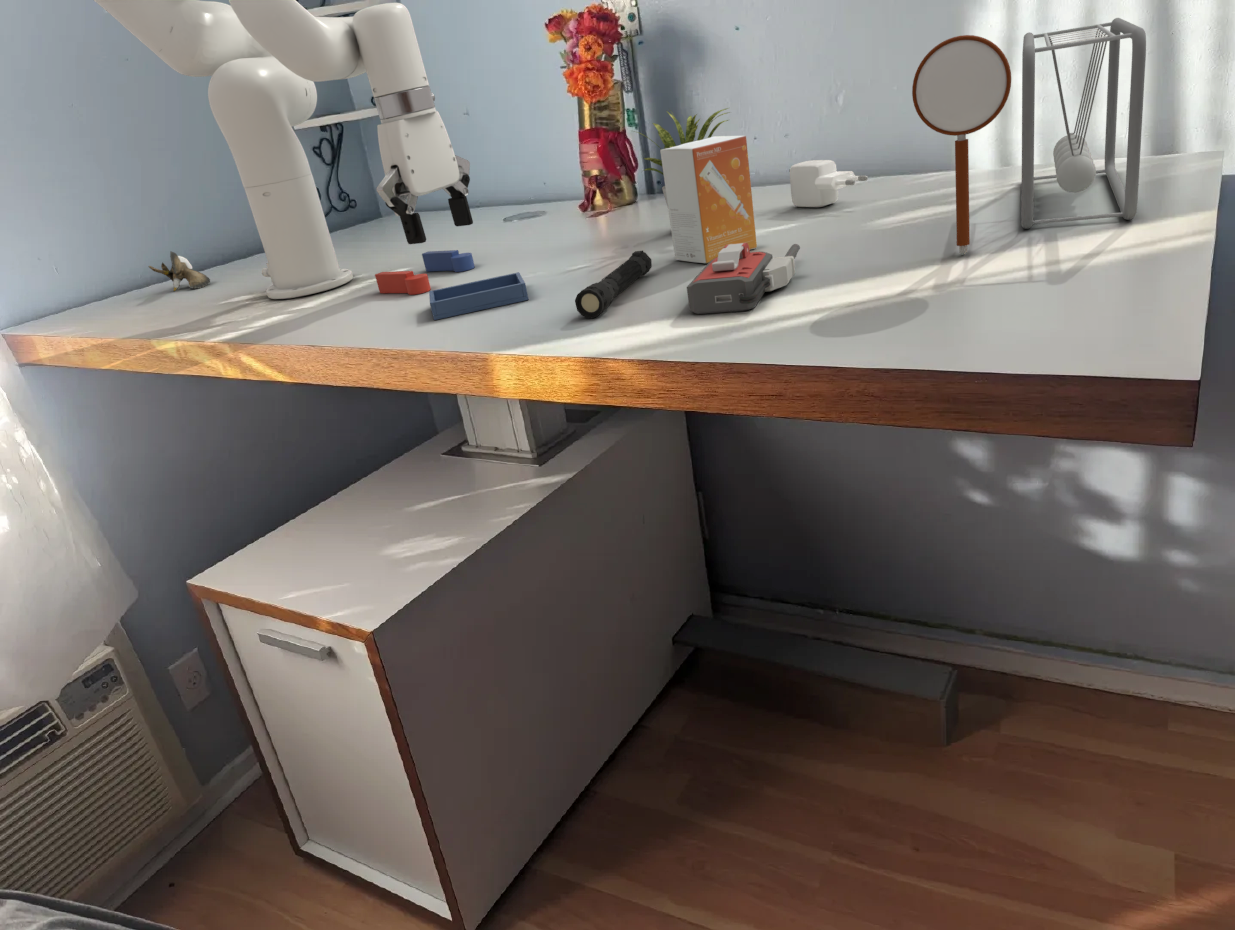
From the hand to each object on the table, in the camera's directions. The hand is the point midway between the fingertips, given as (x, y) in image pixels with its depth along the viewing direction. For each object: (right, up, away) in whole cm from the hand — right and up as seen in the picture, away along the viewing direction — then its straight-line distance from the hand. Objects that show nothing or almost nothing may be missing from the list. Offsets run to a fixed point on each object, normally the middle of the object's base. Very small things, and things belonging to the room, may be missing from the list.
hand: (441, 233), depth 130 cm
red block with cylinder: (-3, -10, -8) cm, 13 cm away
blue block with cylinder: (+1, -5, +1) cm, 5 cm away
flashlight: (+25, -14, -30) cm, 41 cm away
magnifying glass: (+59, -12, -38) cm, 72 cm away
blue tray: (+9, -14, -22) cm, 27 cm away
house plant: (+37, 0, -2) cm, 37 cm away
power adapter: (+54, +3, -3) cm, 54 cm away
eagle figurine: (-49, -2, +28) cm, 57 cm away
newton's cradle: (+77, -2, -25) cm, 81 cm away
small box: (+37, -7, -19) cm, 42 cm away
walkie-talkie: (+38, -15, -36) cm, 55 cm away
